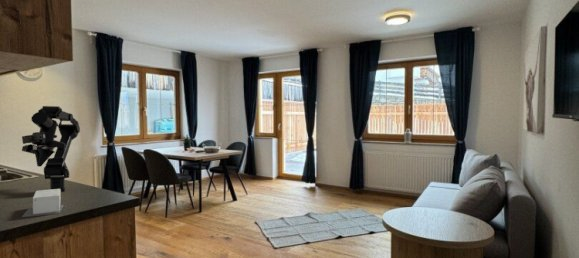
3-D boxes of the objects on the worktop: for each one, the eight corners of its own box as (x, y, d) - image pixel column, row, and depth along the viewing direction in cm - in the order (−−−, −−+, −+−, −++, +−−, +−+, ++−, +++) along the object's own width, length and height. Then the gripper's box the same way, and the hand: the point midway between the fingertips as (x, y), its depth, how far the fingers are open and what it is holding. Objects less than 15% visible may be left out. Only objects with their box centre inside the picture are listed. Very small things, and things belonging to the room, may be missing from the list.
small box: (36, 206, 127) (32, 214, 116) (36, 190, 127) (32, 197, 116) (61, 203, 132) (59, 211, 121) (61, 188, 131) (59, 195, 121)
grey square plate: (29, 209, 125) (29, 208, 124) (63, 205, 130) (63, 204, 130) (22, 217, 115) (22, 216, 115) (59, 213, 120) (59, 212, 120)
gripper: (13, 129, 138) (3, 164, 132) (44, 123, 132) (35, 159, 127) (39, 137, 148) (31, 169, 142) (69, 131, 142) (62, 165, 137)
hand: (39, 166), depth 137 cm, fingers closed
